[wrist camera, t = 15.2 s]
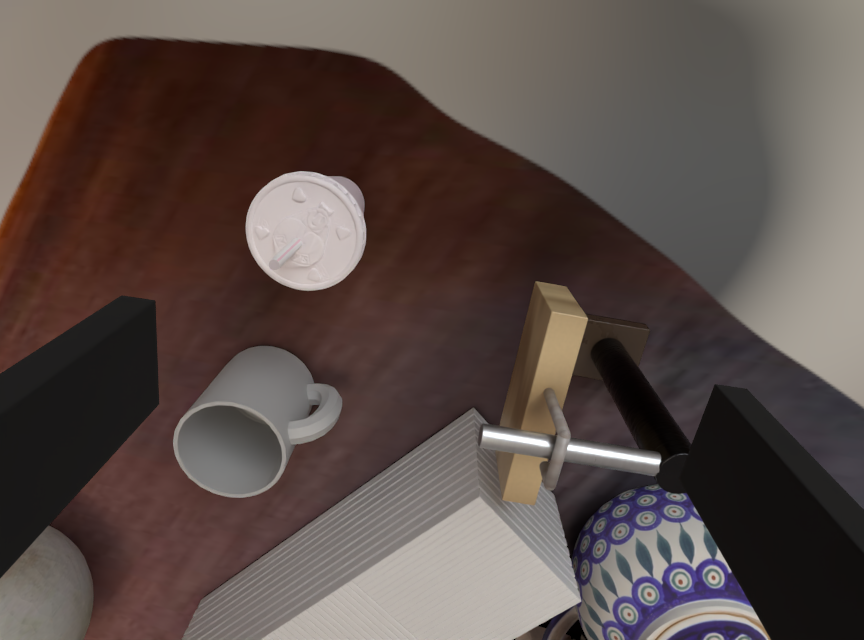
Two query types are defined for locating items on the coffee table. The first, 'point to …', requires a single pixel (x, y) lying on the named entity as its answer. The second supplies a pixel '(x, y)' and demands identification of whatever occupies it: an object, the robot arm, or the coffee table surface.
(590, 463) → the stand
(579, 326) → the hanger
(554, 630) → the teapot
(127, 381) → the robot arm
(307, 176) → the smoothie
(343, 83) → the coffee table surface
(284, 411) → the cup
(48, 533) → the decorative sphere
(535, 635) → the bear figurine
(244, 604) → the stack of papers
